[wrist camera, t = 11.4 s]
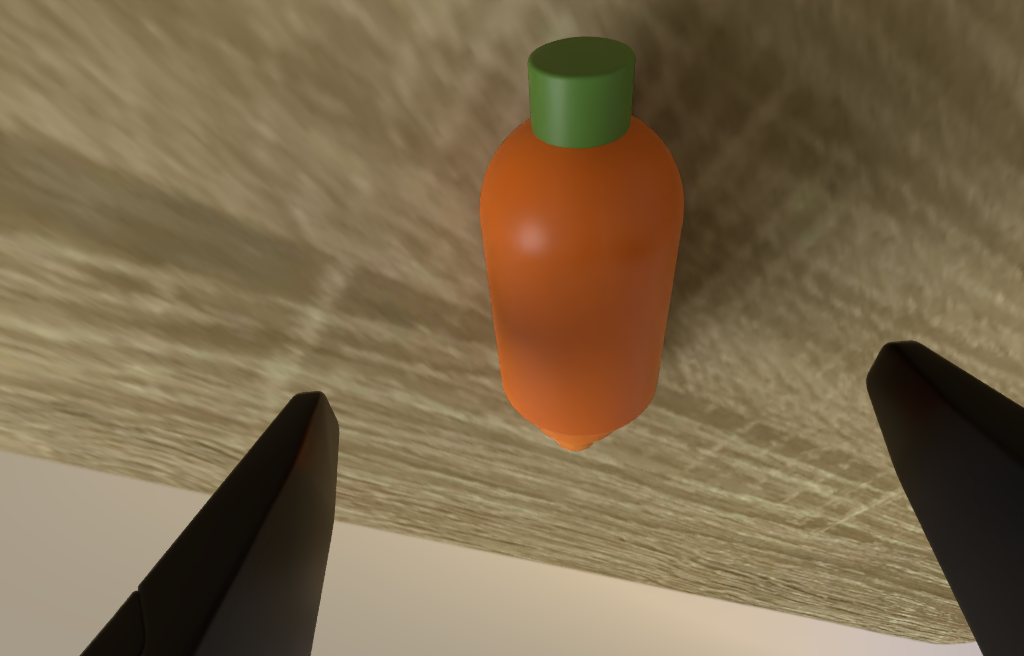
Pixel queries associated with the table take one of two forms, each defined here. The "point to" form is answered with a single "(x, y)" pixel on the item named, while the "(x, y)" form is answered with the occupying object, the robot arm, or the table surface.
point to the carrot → (581, 245)
